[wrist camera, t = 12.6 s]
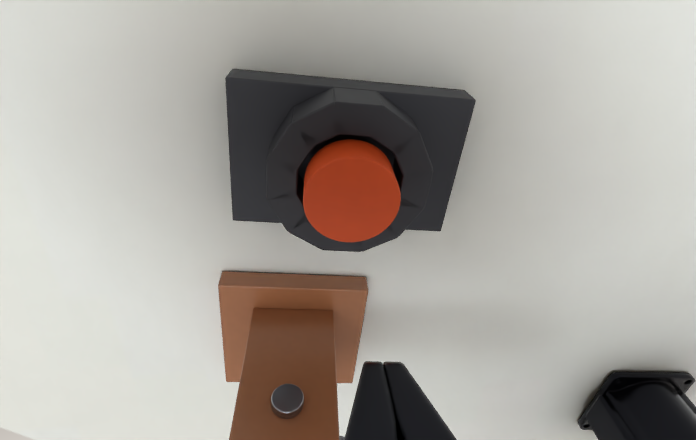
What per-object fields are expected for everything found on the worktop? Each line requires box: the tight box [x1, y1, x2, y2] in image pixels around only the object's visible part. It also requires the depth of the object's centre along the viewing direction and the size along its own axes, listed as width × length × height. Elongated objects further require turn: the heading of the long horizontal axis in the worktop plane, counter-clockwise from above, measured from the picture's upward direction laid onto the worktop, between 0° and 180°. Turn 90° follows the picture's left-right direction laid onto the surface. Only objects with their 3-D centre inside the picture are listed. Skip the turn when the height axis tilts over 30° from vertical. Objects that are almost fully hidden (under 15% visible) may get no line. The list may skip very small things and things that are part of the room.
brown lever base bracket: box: [218, 271, 368, 440], centre depth 21 cm, size 8×8×9 cm
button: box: [303, 139, 401, 242], centre depth 16 cm, size 4×4×2 cm
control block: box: [226, 69, 475, 252], centre depth 18 cm, size 10×6×4 cm, turn 84°
